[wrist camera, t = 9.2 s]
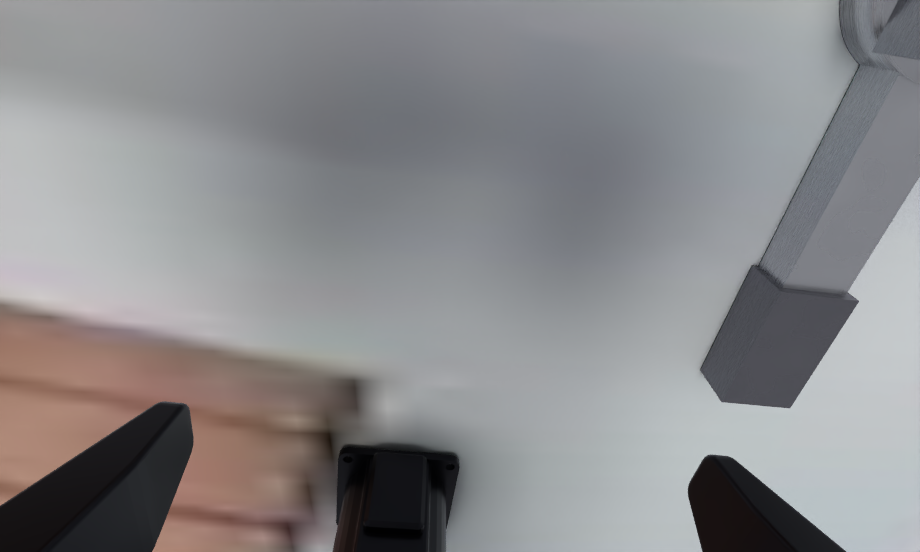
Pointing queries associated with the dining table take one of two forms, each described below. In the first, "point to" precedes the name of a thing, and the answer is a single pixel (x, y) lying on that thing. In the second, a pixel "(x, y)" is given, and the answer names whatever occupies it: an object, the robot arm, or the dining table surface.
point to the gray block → (901, 31)
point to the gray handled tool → (825, 227)
